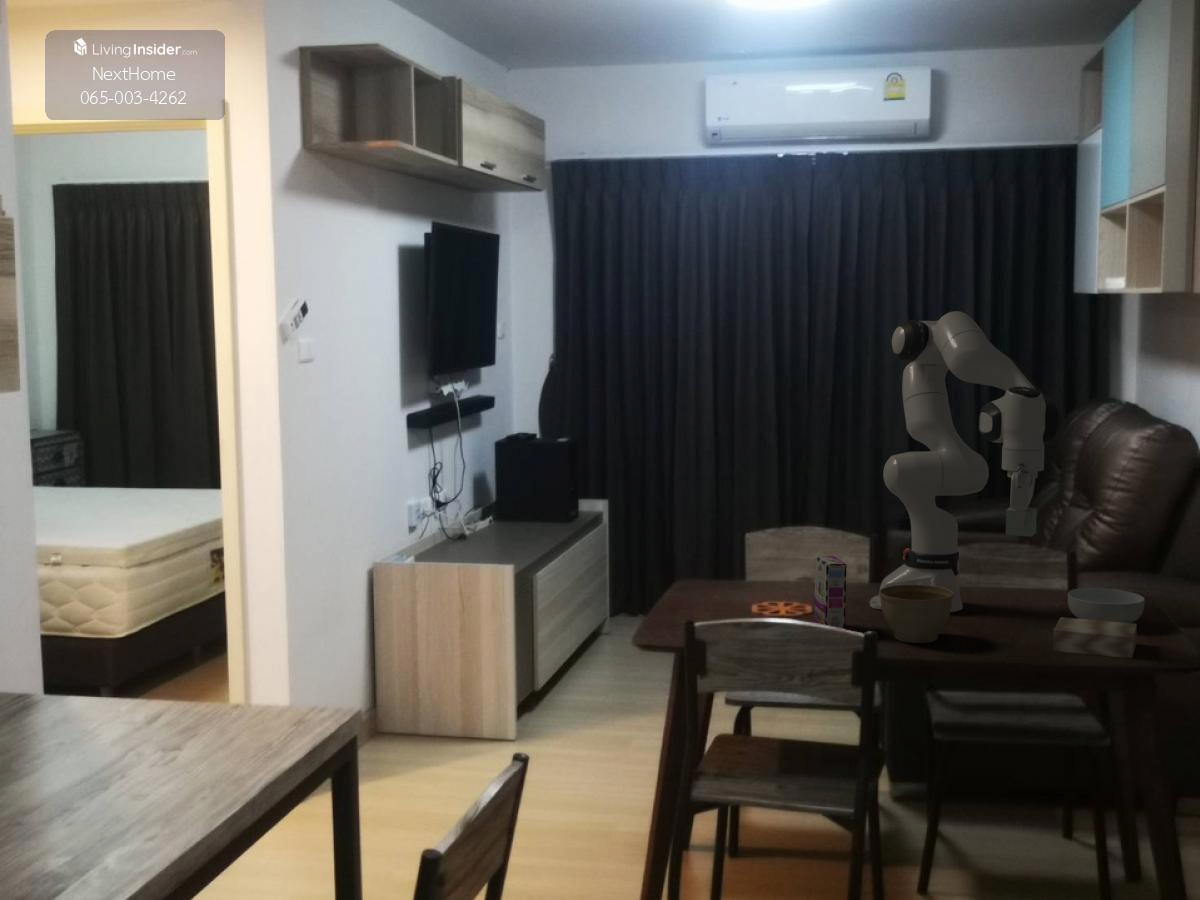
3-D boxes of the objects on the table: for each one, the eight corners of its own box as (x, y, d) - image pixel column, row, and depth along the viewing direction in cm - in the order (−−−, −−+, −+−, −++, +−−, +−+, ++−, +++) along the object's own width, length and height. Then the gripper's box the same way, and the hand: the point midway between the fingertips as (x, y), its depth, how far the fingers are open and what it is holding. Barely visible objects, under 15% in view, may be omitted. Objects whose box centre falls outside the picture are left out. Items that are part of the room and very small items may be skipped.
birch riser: (1052, 652, 291) (1053, 630, 291) (1059, 638, 303) (1060, 617, 303) (1131, 660, 285) (1132, 637, 284) (1135, 645, 296) (1136, 623, 296)
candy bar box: (846, 634, 307) (847, 563, 305) (825, 635, 307) (825, 564, 305) (834, 622, 318) (834, 554, 316) (813, 623, 318) (814, 555, 316)
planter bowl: (885, 627, 313) (885, 582, 312) (956, 633, 307) (957, 586, 306) (873, 644, 298) (873, 596, 297) (947, 650, 292) (948, 601, 291)
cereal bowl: (1079, 633, 307) (1079, 602, 306) (1057, 616, 323) (1058, 587, 322) (1154, 633, 306) (1155, 602, 305) (1129, 616, 322) (1130, 587, 322)
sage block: (1005, 534, 294) (1006, 510, 293) (1010, 530, 299) (1011, 506, 298) (1031, 536, 291) (1032, 511, 291) (1036, 532, 296) (1036, 508, 295)
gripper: (1035, 468, 282) (1033, 532, 284) (1040, 457, 301) (1038, 517, 303) (1004, 466, 285) (1002, 531, 286) (1011, 456, 304) (1009, 516, 305)
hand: (1021, 524), depth 295 cm, fingers closed on sage block, 6 cm apart
